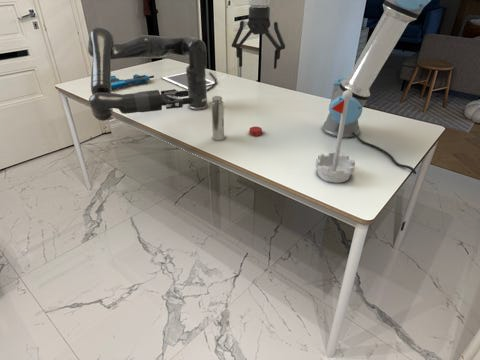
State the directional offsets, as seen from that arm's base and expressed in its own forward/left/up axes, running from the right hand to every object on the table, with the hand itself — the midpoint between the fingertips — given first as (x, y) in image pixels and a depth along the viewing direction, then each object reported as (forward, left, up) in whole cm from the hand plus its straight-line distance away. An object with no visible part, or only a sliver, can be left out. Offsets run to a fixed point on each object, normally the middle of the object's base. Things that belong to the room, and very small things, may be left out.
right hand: (257, 67), depth 132 cm
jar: (+3, +16, -28) cm, 33 cm away
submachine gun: (+98, +40, -28) cm, 110 cm away
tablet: (+85, +3, -28) cm, 90 cm away
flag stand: (-42, -9, -28) cm, 51 cm away
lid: (0, 0, -27) cm, 27 cm away
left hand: (+4, +27, -9) cm, 29 cm away
